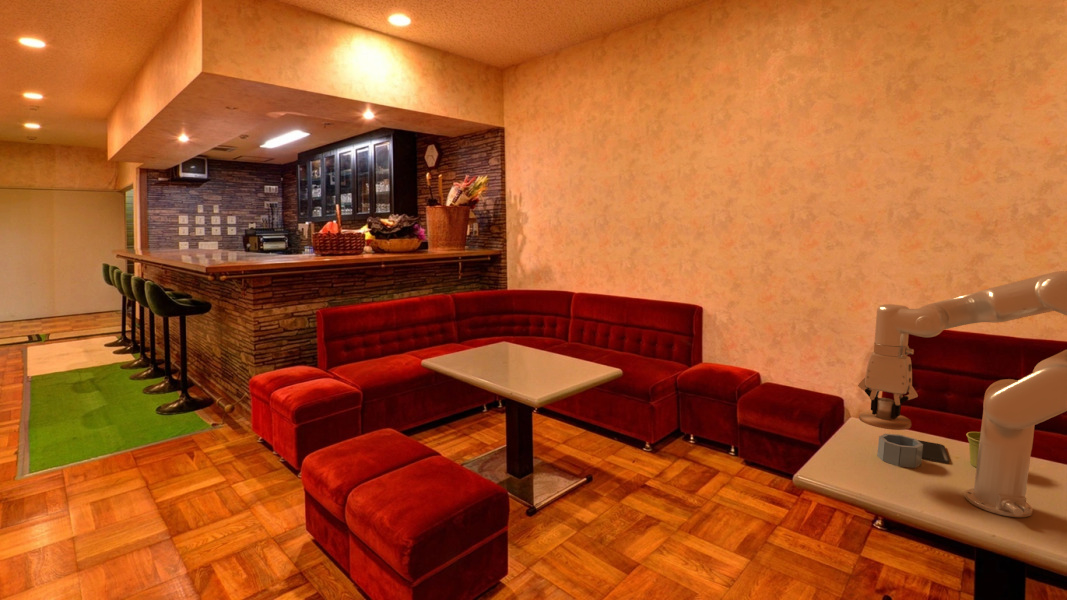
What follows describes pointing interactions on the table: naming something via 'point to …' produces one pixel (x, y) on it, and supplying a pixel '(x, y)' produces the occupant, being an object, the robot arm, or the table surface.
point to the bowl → (900, 450)
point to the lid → (884, 416)
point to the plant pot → (973, 446)
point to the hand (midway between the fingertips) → (884, 414)
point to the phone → (934, 452)
